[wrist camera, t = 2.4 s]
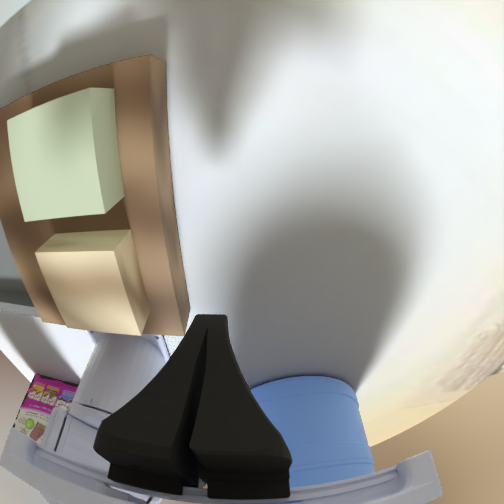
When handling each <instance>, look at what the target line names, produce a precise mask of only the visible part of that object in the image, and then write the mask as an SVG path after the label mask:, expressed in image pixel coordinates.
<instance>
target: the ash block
mask: <svg viewBox="0 0 504 504" xmlns="http://www.w3.org/2000/svg"><path fill="white" fill-rule="evenodd" d="M35 255H36V258H37V261H38V263H39V266H40V268H41V271H42V274H43V276H44V279H45V281H46V283H47V286H48V288H49V290H50V293H51V295H52V297H53V299H54V301H55V304H56V306H57V308H58V310H59V312H60V314H61V316H62V318H63V320H64V322H65V324H66V326H67V328H74V329H82V330H89V331H97V332H106V333H116V334H126V335H138V336H141V335H142V332H143V329H144V326H145V324H146V321H147V318H148V316H149V313H150V310H151V309H150V305H149V302H148V298H147V295H146V291H145V287H144V284H143V280H142V276H141V272H140V268H139V264H138V260H137V256H136V251H135V247H134V242H133V237H132V233H131V229H127V230H107V231H89V232H73V233H58V234H54V235H53V236H52V237H51V238H50V239H49V240H48V241H46V242H45V243H44V244H43V245H42V246H41V247H40V248H39V249H38V250H37V251H36V252H35Z"/></svg>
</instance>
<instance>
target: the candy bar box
mask: <svg viewBox="0 0 504 504" xmlns="http://www.w3.org/2000/svg"><path fill="white" fill-rule="evenodd" d="M78 386H79V385H77V384H72V383H68V382H64V381H60V380H56V379H52V378H48V377H44V376H41V375H37V374H35V376H34V378H33V380H32V382H31V384H30V387H29V389H28V391H27V393H26V395H25V398H24V400H23V402H22V405H21V407H20V410H19V412H18V415H17V417H16V420H15V422H14V425H13V428H15V429H17V430H18V431H20V432H22V433H24V434H26V435H27V436H29V437H30V438H32V439H33V440H34V441H36V443H38V444H40V443H41V440H42V437H43V434H44V431H45V428H46V426H47V423H48V420H49V418H50V415H51V412H52V410H53V408H55V407H59V406H60V405H62V406H64V407H66V408H67V410H68V408H69V406H70V405H71V403H72V401H73V398H74V396H75V393H76V391H77V388H78ZM66 412H67V411H66Z"/></svg>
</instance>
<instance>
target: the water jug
mask: <svg viewBox="0 0 504 504" xmlns="http://www.w3.org/2000/svg"><path fill="white" fill-rule="evenodd" d="M250 391H251V393H252V394H253V396H254V398H255V399H256V401H257V402H258V404H259V406H260V407H261V409H262V410H263V412H264V413H265V414H266V416H267V417H268V419H269V420H270V421H271V422H272V424H273V425H274V426H275V427H276V429H277V430H278V431H279V432H280V433H281V435H282V437H283V439H284V441H285V443H286V445H287V447H288V449H289V451H290V453H291V457H292V465H291V466H290V468H289V474H290V479H289V485H290V488H294V487H303V486H311V485H318V484H324V483H330V482H335V481H340V480H345V479H350V478H354V477H358V476H362V475H366V474H370V473H374V472H375V471H374V461H373V456H372V452H371V450H370V447H369V446H368V442H367V438H366V435H365V431H364V427H363V423H362V420H361V416H360V412H359V409H358V408H359V405H358V401H357V397H356V394H355V392H354V390H353V389H352V387H351V386H349V385H348V384H347V383H345V382H343V381H341V380H338V379H335V378H331V377H325V376H298V377H290V378H284V379H279V380H275V381H271V382H268V383H265V384H262V385H259V386H257V387H255V388H253V389H251V390H250ZM299 503H300V502H297V503H287V504H299Z"/></svg>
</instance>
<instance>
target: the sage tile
mask: <svg viewBox="0 0 504 504" xmlns="http://www.w3.org/2000/svg"><path fill="white" fill-rule="evenodd" d="M7 127H8V138H9V147H10V155H11V161H12V167H13V173H14V179H15V184H16V188H17V193H18V197H19V202H20V206H21V210H22V213H23V217H24V221H25V222H28V221H36V220H45V219H53V218H63V217H73V216H83V215H94V214H105V213H106V212H107V211H109V210H110V209H111V208H112V207H113V206H114V205H115V204H116V203H118V202H119V201H120V200H121V199H122V198H123V197H125V195H124V188H123V181H122V174H121V167H120V159H119V150H118V140H117V129H116V115H115V96H114V89H112V88H87V89H84V90H81V91H77V92H74V93H71V94H68V95H66V96H63V97H60V98H57V99H55V100H52V101H49V102H47V103H44V104H42V105H40V106H37V107H35V108H33V109H30V110H28V111H26V112H24V113H21V114H19V115H17V116H15V117H13V118H11V119H9V120H7Z"/></svg>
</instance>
